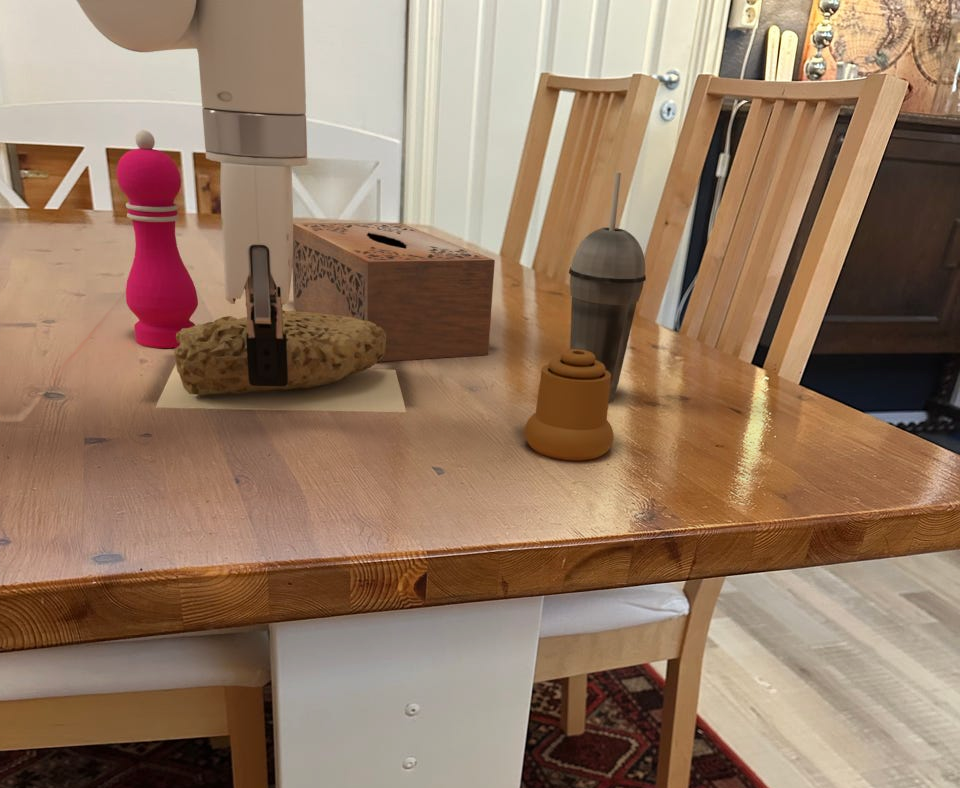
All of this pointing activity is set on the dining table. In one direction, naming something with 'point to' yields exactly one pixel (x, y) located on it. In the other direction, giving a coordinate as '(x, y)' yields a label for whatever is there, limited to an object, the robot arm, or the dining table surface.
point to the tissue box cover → (396, 286)
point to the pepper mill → (155, 246)
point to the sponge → (310, 352)
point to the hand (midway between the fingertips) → (268, 382)
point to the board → (299, 396)
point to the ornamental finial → (572, 408)
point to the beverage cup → (606, 293)
